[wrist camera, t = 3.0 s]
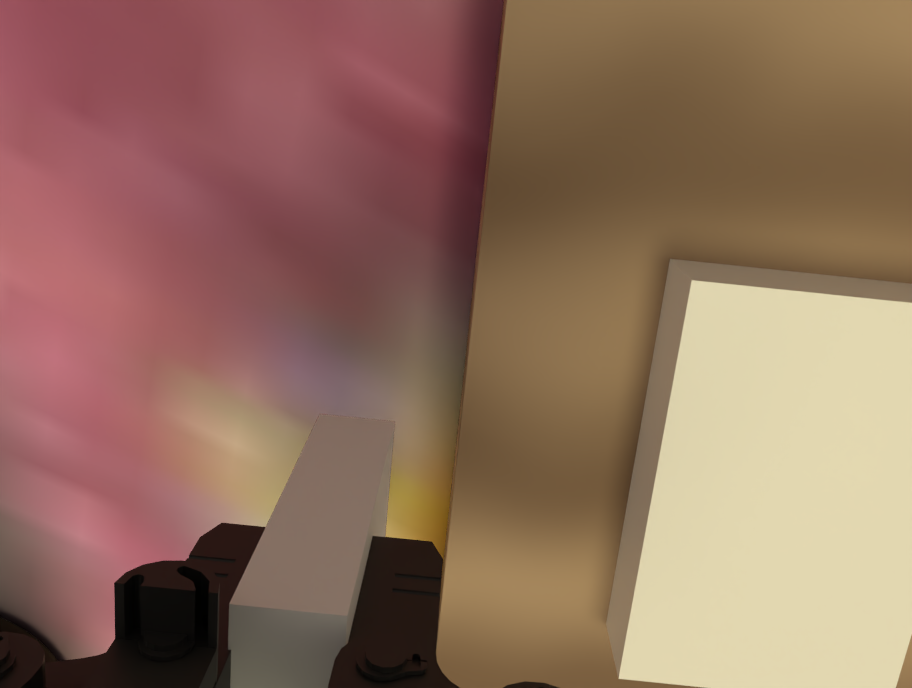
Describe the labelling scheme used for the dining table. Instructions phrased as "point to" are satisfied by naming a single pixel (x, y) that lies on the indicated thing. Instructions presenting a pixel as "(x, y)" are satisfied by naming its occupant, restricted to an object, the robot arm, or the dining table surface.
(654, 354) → the cream rectangular block
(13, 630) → the supplement bottle
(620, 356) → the brown wooden block
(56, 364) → the dining table surface
